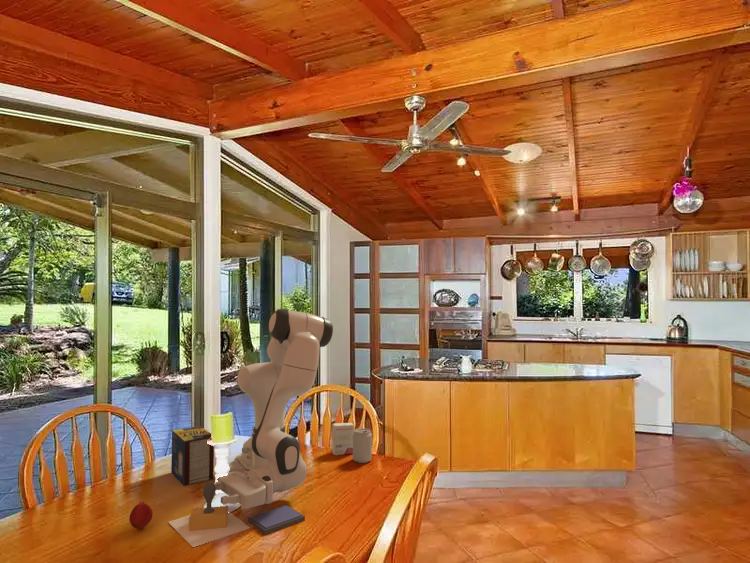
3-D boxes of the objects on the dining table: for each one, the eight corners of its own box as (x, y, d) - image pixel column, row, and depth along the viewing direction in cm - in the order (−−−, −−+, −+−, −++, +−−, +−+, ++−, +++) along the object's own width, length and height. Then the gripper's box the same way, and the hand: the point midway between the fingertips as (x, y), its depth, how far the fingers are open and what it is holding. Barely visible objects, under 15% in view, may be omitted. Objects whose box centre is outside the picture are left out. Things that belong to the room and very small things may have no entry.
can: (369, 464, 189) (369, 433, 189) (350, 462, 190) (350, 431, 191) (373, 458, 196) (373, 428, 197) (355, 456, 198) (355, 426, 198)
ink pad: (247, 521, 141) (247, 516, 141) (286, 508, 150) (286, 503, 150) (265, 534, 134) (265, 529, 134) (304, 520, 143) (304, 515, 143)
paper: (167, 522, 140) (167, 521, 140) (221, 506, 151) (221, 505, 151) (193, 548, 127) (193, 547, 127) (249, 528, 137) (249, 527, 137)
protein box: (199, 466, 184) (200, 425, 184) (213, 479, 172) (214, 435, 172) (170, 472, 178) (171, 429, 178) (183, 486, 166) (184, 440, 166)
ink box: (351, 450, 206) (352, 421, 206) (354, 454, 201) (354, 425, 201) (331, 451, 204) (332, 422, 204) (333, 455, 199) (334, 426, 199)
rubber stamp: (188, 531, 135) (189, 487, 135) (191, 521, 140) (192, 479, 141) (226, 527, 137) (227, 484, 137) (227, 518, 143) (228, 476, 143)
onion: (127, 535, 132) (127, 506, 132) (131, 526, 138) (131, 497, 138) (150, 533, 134) (151, 503, 134) (153, 523, 140) (154, 495, 140)
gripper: (242, 463, 157) (199, 473, 148) (275, 482, 142) (230, 495, 133) (241, 483, 157) (199, 494, 148) (274, 504, 142) (230, 519, 133)
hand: (214, 495), depth 140 cm, fingers open, 8 cm apart
